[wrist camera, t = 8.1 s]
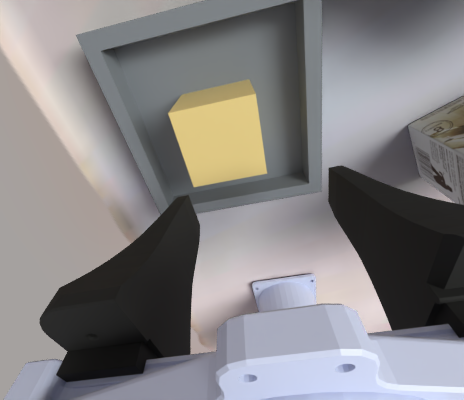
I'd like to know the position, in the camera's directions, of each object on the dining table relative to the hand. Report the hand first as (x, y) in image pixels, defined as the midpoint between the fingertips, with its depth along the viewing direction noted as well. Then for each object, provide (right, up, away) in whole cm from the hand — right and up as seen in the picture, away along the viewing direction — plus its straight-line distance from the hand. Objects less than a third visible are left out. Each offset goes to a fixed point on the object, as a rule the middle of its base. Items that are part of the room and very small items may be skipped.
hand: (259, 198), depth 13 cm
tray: (-2, +7, +7) cm, 10 cm away
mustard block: (-2, +6, +6) cm, 9 cm away
